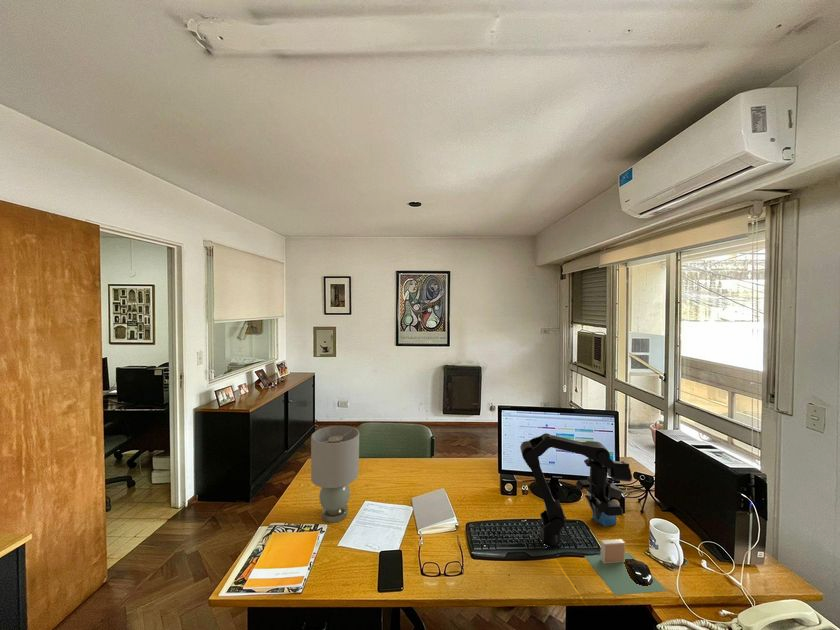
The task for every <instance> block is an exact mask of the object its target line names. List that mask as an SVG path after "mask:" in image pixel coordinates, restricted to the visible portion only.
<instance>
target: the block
mask: <svg viewBox="0 0 840 630" xmlns="http://www.w3.org/2000/svg"><path fill="white" fill-rule="evenodd" d="M625 553H626V542H625V541H624V540H623V539H622V538H618V539H617V538H616V539H601V540H600V554H599V555H600V560H601V561H602V562H603V563H616V562H625Z"/></svg>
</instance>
